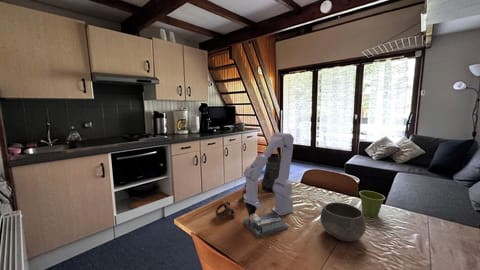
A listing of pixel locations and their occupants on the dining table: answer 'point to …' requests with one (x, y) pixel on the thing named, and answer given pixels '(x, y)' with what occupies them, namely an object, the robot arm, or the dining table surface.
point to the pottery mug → (225, 210)
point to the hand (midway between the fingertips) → (251, 216)
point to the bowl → (343, 221)
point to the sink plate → (266, 228)
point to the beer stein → (271, 172)
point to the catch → (254, 218)
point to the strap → (267, 221)
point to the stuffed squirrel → (245, 192)
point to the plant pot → (371, 203)
